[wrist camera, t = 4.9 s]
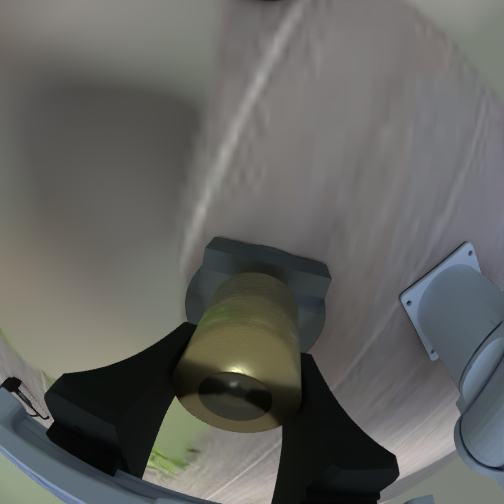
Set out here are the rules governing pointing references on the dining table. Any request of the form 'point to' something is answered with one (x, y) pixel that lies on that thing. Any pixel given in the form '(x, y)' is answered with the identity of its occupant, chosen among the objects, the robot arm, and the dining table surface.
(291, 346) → the cylinder
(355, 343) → the dining table surface
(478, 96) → the dining table surface
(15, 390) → the sunglasses
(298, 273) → the flange seat
